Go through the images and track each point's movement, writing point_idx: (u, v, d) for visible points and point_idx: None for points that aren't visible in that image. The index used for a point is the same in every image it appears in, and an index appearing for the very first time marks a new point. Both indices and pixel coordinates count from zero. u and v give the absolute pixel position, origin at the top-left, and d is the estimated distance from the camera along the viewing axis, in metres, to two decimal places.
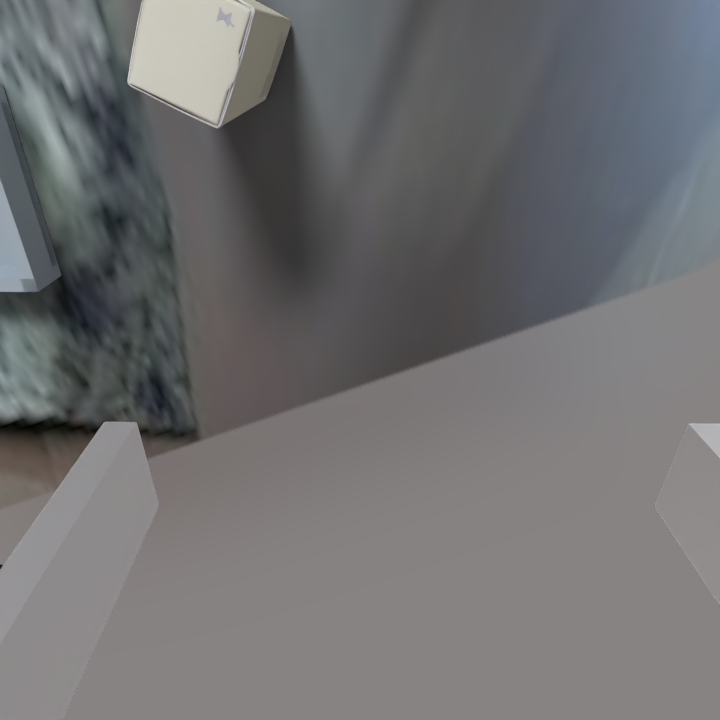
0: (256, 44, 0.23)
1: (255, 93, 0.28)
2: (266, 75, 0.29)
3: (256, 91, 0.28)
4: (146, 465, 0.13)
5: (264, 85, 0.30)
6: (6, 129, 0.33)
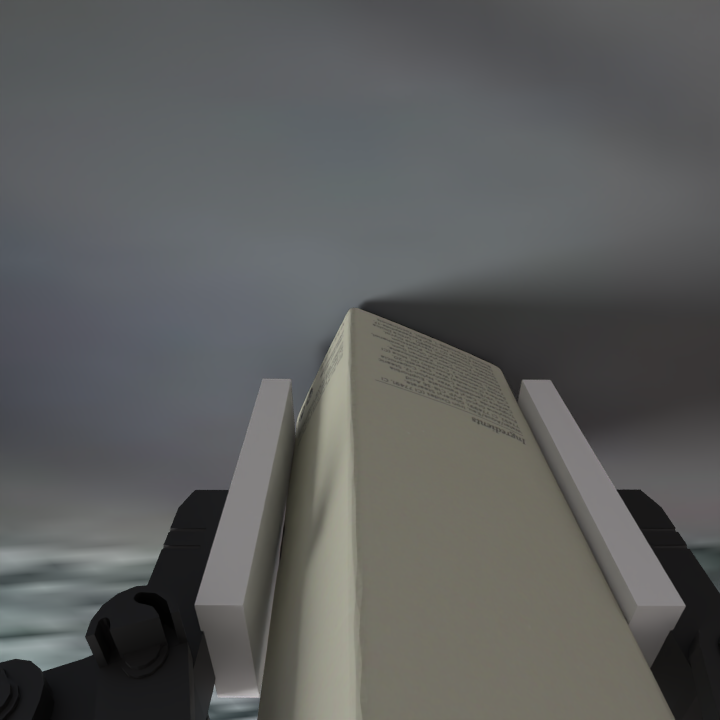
0: None
1: (544, 515, 0.09)
2: (481, 434, 0.11)
3: (538, 511, 0.09)
4: (292, 419, 0.14)
5: (497, 426, 0.12)
6: None
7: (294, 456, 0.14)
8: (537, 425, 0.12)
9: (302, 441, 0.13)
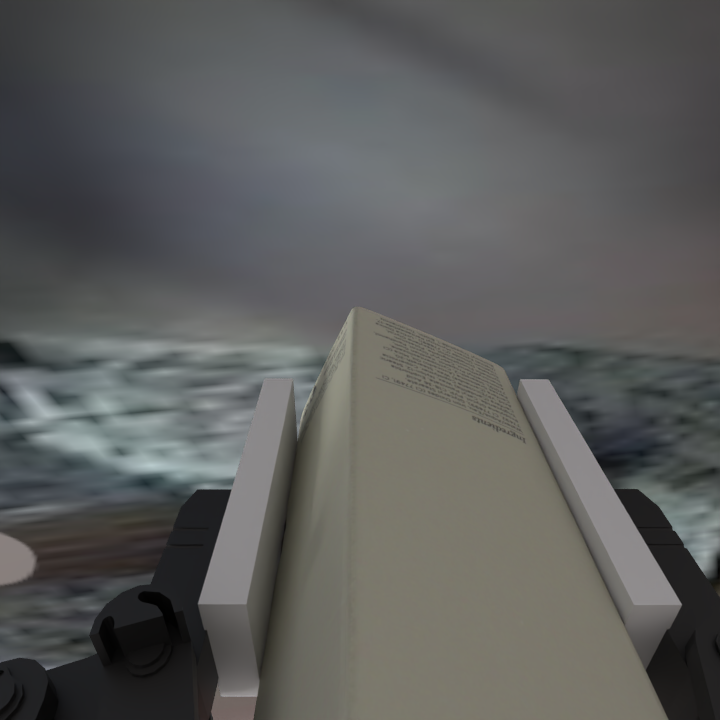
0: None
1: (541, 513, 0.09)
2: (481, 433, 0.11)
3: (536, 509, 0.09)
4: (294, 419, 0.14)
5: (498, 425, 0.12)
6: None
7: (297, 453, 0.14)
8: (535, 425, 0.12)
9: (305, 438, 0.13)
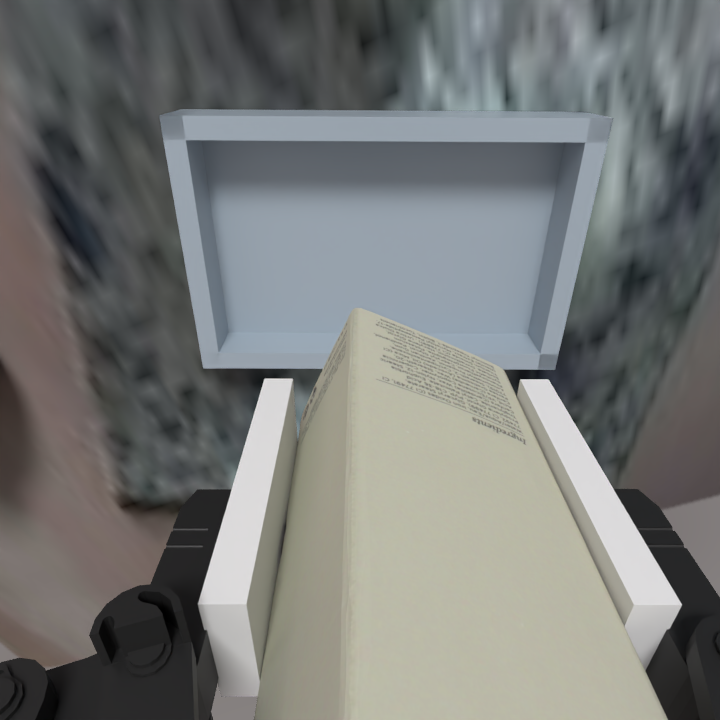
0: None
1: (541, 515, 0.09)
2: (481, 434, 0.11)
3: (536, 510, 0.09)
4: (294, 419, 0.14)
5: (498, 426, 0.12)
6: None
7: (297, 454, 0.14)
8: (535, 425, 0.12)
9: (305, 439, 0.13)
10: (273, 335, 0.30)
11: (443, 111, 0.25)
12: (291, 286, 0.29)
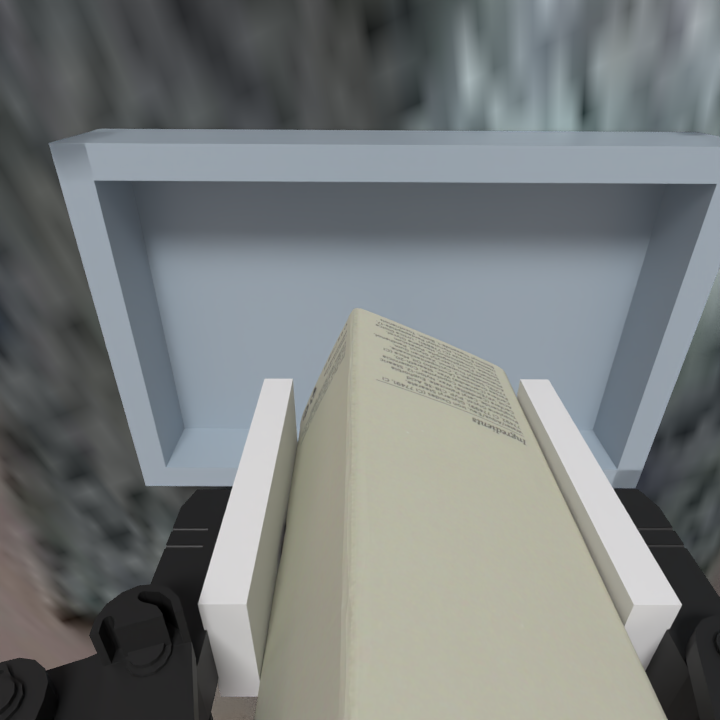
0: None
1: (542, 515, 0.09)
2: (481, 435, 0.11)
3: (536, 511, 0.09)
4: (294, 419, 0.14)
5: (498, 427, 0.12)
6: None
7: (297, 454, 0.14)
8: (535, 425, 0.12)
9: (305, 440, 0.13)
10: (245, 434, 0.22)
11: (489, 132, 0.17)
12: (269, 371, 0.21)
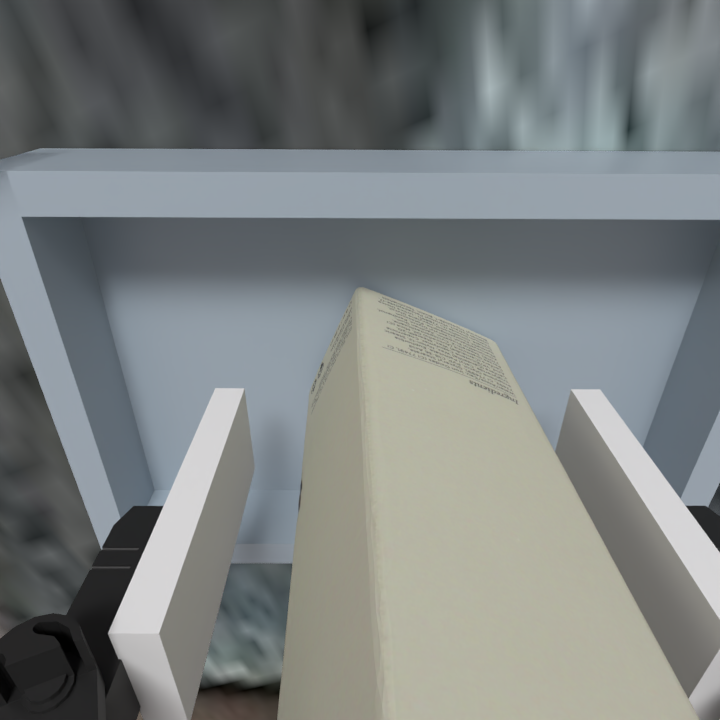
0: (477, 638, 0.06)
1: (533, 460, 0.11)
2: (478, 394, 0.12)
3: (528, 456, 0.11)
4: (248, 429, 0.14)
5: (493, 388, 0.13)
6: None
7: (308, 423, 0.15)
8: (591, 437, 0.12)
9: (315, 409, 0.14)
10: None
11: (514, 152, 0.14)
12: (251, 427, 0.18)
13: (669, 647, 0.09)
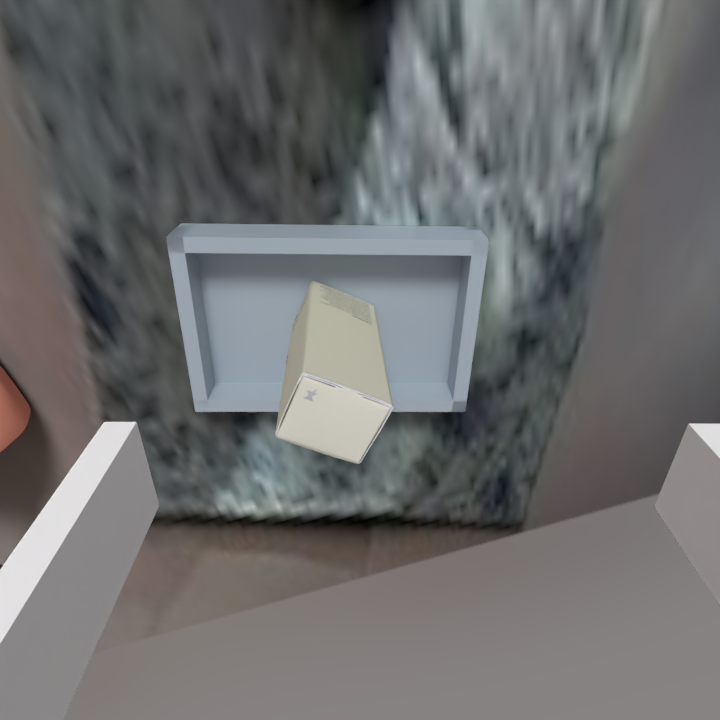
0: (329, 358, 0.27)
1: (367, 337, 0.31)
2: (353, 319, 0.32)
3: (366, 336, 0.31)
4: (146, 465, 0.13)
5: (361, 318, 0.33)
6: None
7: (290, 338, 0.35)
8: None
9: (293, 330, 0.35)
10: (250, 385, 0.39)
11: (373, 226, 0.34)
12: (264, 348, 0.38)
13: None
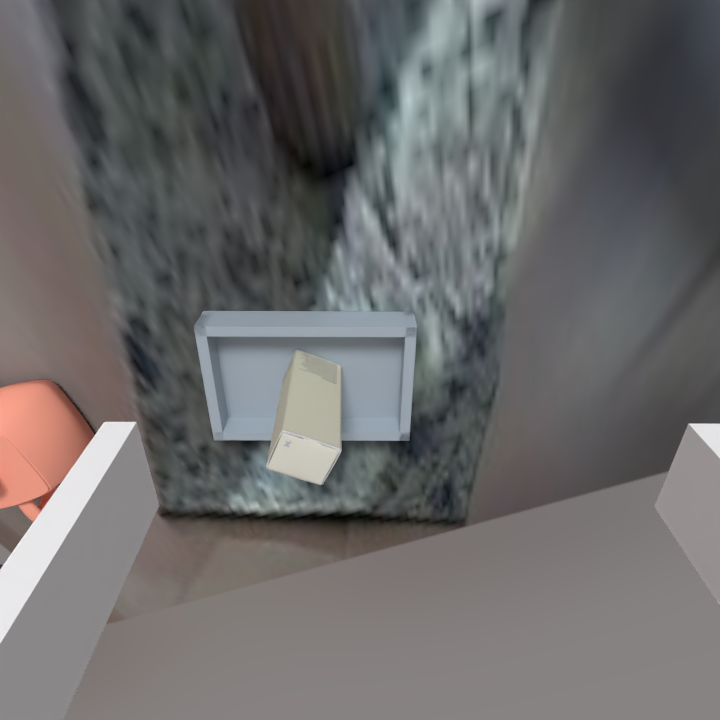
0: (301, 417, 0.41)
1: (331, 396, 0.45)
2: (323, 381, 0.47)
3: (330, 395, 0.45)
4: (146, 465, 0.13)
5: (329, 380, 0.47)
6: None
7: None
8: None
9: (282, 386, 0.49)
10: (253, 420, 0.54)
11: (339, 313, 0.48)
12: (263, 394, 0.52)
13: None
